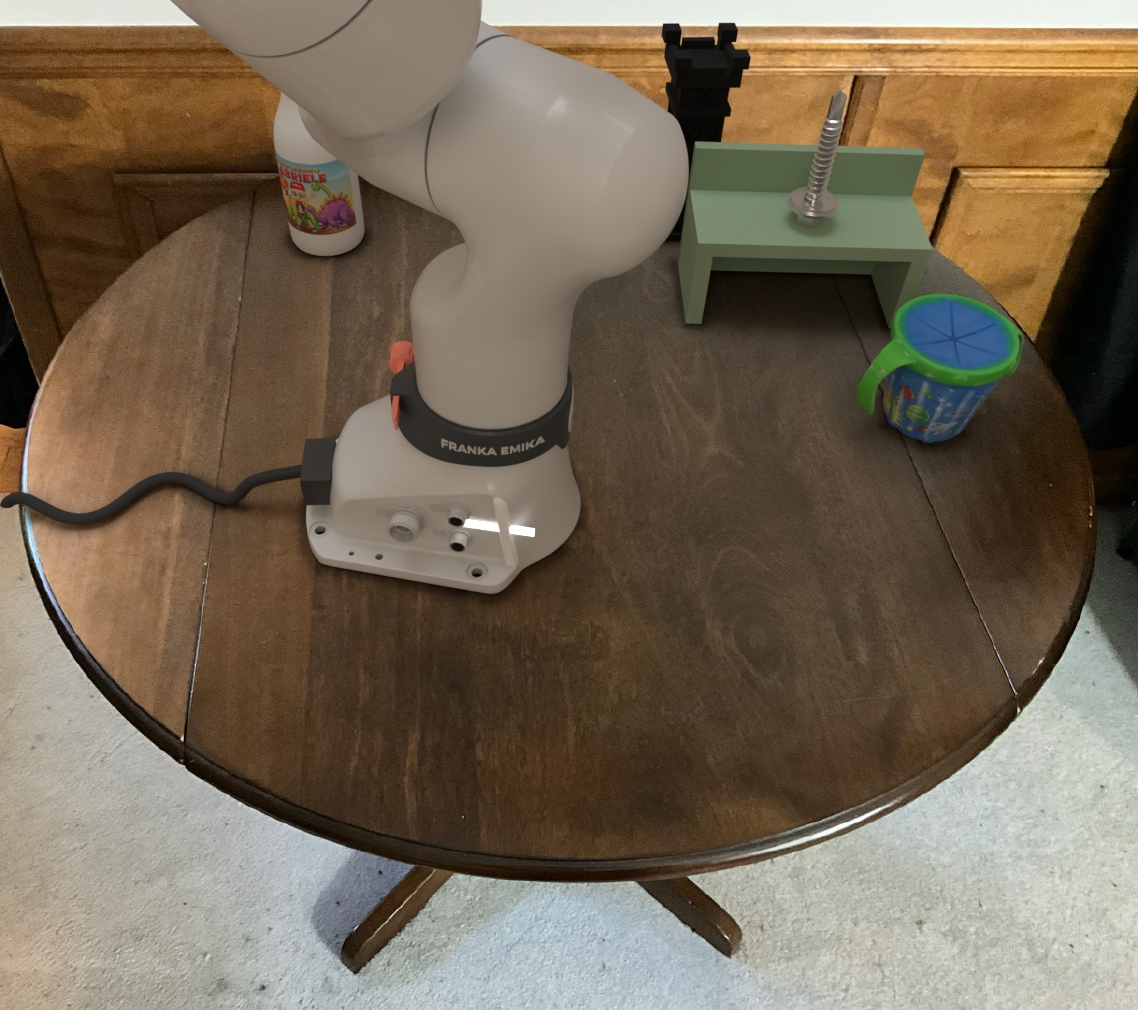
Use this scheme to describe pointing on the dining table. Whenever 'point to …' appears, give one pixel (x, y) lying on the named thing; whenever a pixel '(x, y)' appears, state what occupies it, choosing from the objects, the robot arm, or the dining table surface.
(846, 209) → the shelf
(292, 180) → the milk bottle
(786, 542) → the dining table surface
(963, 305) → the snack cup
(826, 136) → the screw
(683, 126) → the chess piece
